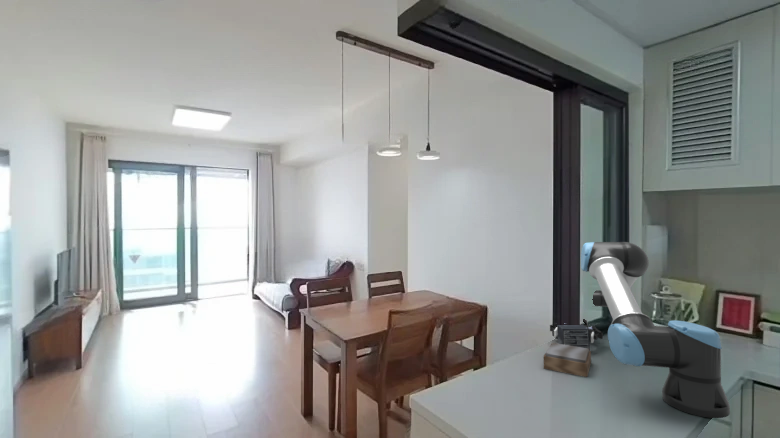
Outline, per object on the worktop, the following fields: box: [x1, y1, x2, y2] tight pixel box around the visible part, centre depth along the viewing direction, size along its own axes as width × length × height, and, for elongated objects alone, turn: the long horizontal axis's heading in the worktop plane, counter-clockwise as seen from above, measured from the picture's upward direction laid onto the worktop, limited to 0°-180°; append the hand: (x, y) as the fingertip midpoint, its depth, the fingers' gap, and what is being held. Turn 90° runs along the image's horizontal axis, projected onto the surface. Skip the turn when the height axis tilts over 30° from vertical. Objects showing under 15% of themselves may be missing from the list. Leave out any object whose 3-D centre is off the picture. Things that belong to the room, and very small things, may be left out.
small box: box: [557, 325, 591, 351], centre depth 148 cm, size 11×6×10 cm, turn 84°
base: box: [543, 342, 592, 378], centre depth 135 cm, size 14×14×6 cm
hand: (572, 336), depth 149 cm, fingers open, 13 cm apart
